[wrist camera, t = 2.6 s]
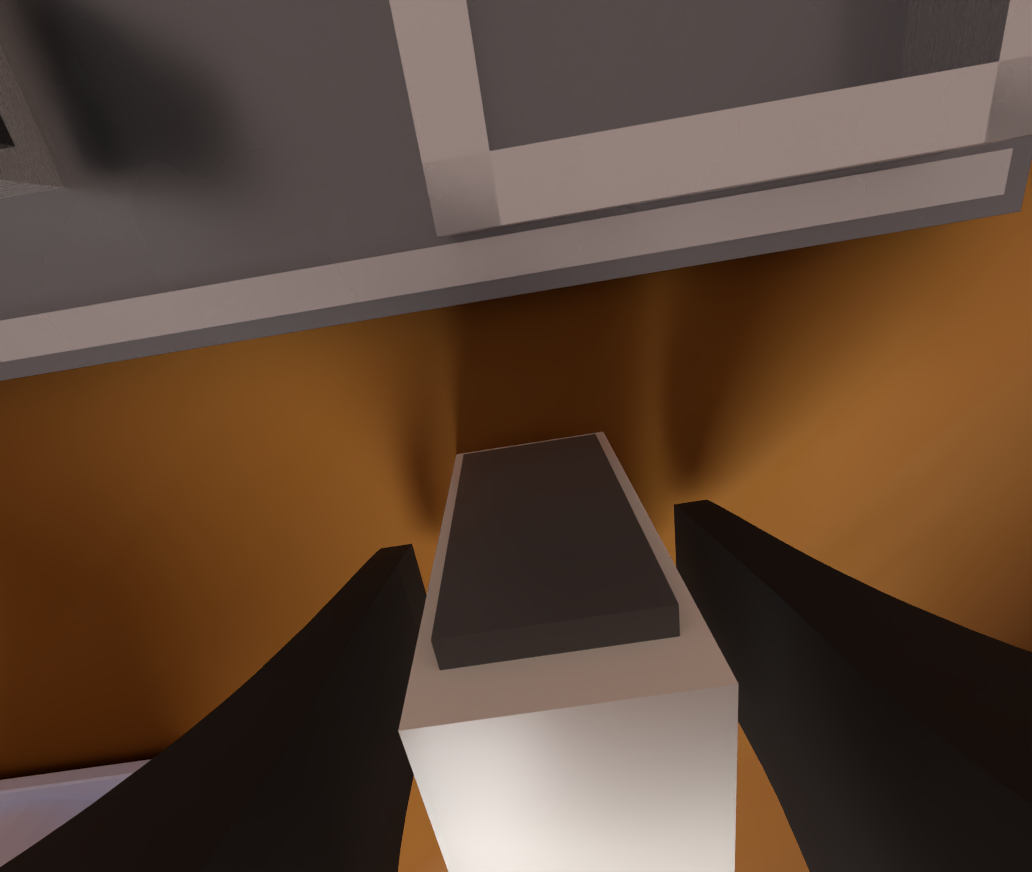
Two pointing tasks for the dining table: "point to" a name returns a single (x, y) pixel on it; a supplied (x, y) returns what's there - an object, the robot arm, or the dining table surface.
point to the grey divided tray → (465, 151)
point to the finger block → (567, 678)
